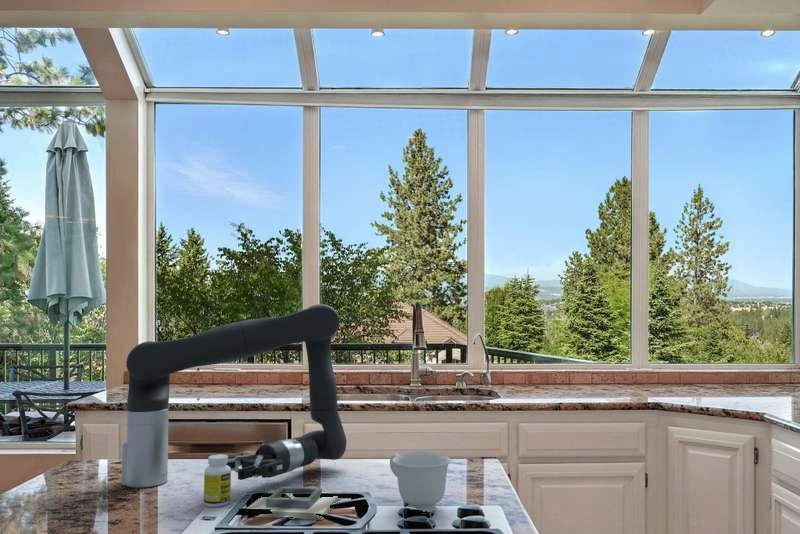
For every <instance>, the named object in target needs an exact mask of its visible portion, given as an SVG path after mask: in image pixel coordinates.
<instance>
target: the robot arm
mask: <svg viewBox="0 0 800 534" xmlns="http://www.w3.org/2000/svg"><path fill="white" fill-rule="evenodd" d="M340 320H341V319H340V316H339V313H338V312H337V311H336V310H335V308H333V307H332V306H330V305H328V304H323V303H318V304H317V303H316V304H315V305H310V306H309V307H307V308H304V309H302V310H299V311H297V312H296V311H295V312H293V313H290V314H285V315H280V316H271V317H270V316H269V317H261V318H259V317H258V318H253V319H252V318H251V319H245V320H240V321H239V320H238V321H237V322H231V323H226V324H223V325H219V326H216V327H213V328H210V329H207V330H204V331H201V332H199V333H195V334H194V335H190V336H186V337H182V338H179V339H171V340H164V341H154V340H151V341H150V340H149V341H148V340H147V341H144V342H140V343H139V344H137V345H136V346H135V347H133V348H132V349H131V350H130V351H129V353H128V355H127V357H126V362H125V363H126V369H127V372H128V375H129V376H128V390H127V391H128V392H127V400H126V401H127V402H126V441H125V442H123V444H122V448H121V449H122V452H121V455H122V457H121V486H127V487H129V488H150V487H156V486H160V485H162V484H165V483H166V482H168V475H169V471H168V467H169V466H168V465H169V464H168V463H169V459H168V458H169V406H170V405H169V404H170V403H169V402H170V381H171V380H170V378H171V377H170V376H171V374H175V373H178V372H181V371H184V370H188V369H192V368H197V367H198V368H199V367H203V366H205V367H206V366H211V365H216V364H217V365H218V364H219V365H220V364H223V363H229V362H235V361H238V360H242V359H247V358H252V357H254V356H259V355H261V354H265V353H268V352H270V351H273V350H276V349H279V348H281V347H284V346H288V345H291V344H297V343H303V342H304V344H305V349H306V355H307V364H308V387H309V393H308V394H309V408H310V411H309V412H310V417H311V420H312V421H314V422H316V423H318V424H320V425H321V427H322V429H321V430H311V431H309V432H307V433H305V434H303V435H301V436H298V437H293V438H288V439H282V440H281V439H279V440H275V441H273V442H268V443H264V444H262V445H260V446H259V447H258V448H257V450H256V452H255V453H248V454H246V455H244V453H243V452H242V453H237V454H233V455H227V456H228V463H227V465H228V466H229V467H230V468H231V472H232V471H234V472H235V473H237V479H238V480H240V481H243V480H247V479H249V478H253V477H254V478H258V477H259V478H260V477H261V478H263V479H268V478H273V477H274V478H275V477H276V476H279V475H283V474H286V473H291V472H293V471H294V470H297V469H299V468H302V467H305V466H309V465H311V464H312V463H313V462H315V461H316V459H317V460H318V459H322V460H332V461H335V460H339V459H341V458H342V457H343V456H344V454H345V452H346V450H347V437H346V433H345V430H344V427H343V424H342V421H341V420H342V419H341V417H340V415H339V407H338V406H339V405H338V392H337V383H336V378H335V372H334V369H333V363H332V353H331V352H332V351H331V350H332V349H331V347H332V346H331V343H332V336H334V335H335V334H336V333H337V331H338V329H339V327H340V322H341V321H340ZM240 467H241V468H240Z"/></svg>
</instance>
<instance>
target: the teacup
mask: <svg viewBox="0 0 800 534" xmlns="http://www.w3.org/2000/svg"><path fill="white" fill-rule="evenodd" d="M451 462H452V459H451V458H450V457H449V456H448V455H445V454H442V453H436V452H426V451H425V452H424V451H422V452H421V451H420V452H419V451H418V452H406V453H402V454H399V453H394V454H392V455H391V457H390V458H389V466H390V467H389V468H390V470H391V472H392V474H393V475H394V476H395V477H396V478H397V485H398V491H399V496H400V497H401V500H403V501H404V502H405V503H406V504H408V507H414V508H416V509H419V510H422V511H423V512H425V511H430V513H432V512H435V511H436V510H437V505H436V504H438V503H439V502H440V501H442V500H443V497H444V495H445V492H446V485H447V483H446V482H447V472H448V468H449V464H450V463H451ZM408 507H407V508H408Z"/></svg>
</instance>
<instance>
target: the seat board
mask: <svg viewBox="0 0 800 534" xmlns="http://www.w3.org/2000/svg"><path fill="white" fill-rule="evenodd" d="M266 493H273V494H272V495H271V496H269V497H262V496H261V498H260V497H259V498H258V499H256V500H255V501H254V502H252V503H251V504H250V505H249V506H247V507H246V508H264V509H271V510H270V511H271V512H272V513H273V514H261V515H258V516H255V517H256V518H272V519H273V518H279V519H281V518H280V517H284V516H291V517H293V518H292V519H295V518H302V520H316V521H317V520H318V521H319V520H320V521H322V520H324V519H325V518H324V517H322V516H319V515H316V514H321V515H322V514H327V515H328V514H329V513H330V512H331V511H332V510H333V508H330V505H331V504H333V503H336V502H338V501H340V500H341V499H339V498H338V496H333V497H321V498H320V495H321V493H337V491H335V492H333V491H330V492H329V491H323V488H321V487H300V486H299V487H298V486H296V487H295V486H281V487H279V488H278V489H270V490H268V491H267V492H266ZM283 493H289V494H290V493H300V494H311V495H310V496H309V497H293V498H294V499H289V498H282V497H281V495H282V494H283ZM338 503H339V502H338Z"/></svg>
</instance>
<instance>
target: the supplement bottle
mask: <svg viewBox="0 0 800 534" xmlns="http://www.w3.org/2000/svg"><path fill="white" fill-rule="evenodd" d="M228 456H229V455H228V454H221V453H219V454H212V455H209V456H208V459H207V464H208V466H207V467H206V468H205V469H204V472H203V473H204V474H203V475H204V477H203V504H204V506H205V507H210V508H218V507H225V506H226V505H229V504H230V503H231V490H232V488H231V486H232V484H231V483H232V479H231V478H232V471H231V468H230V467H229V466H228V465H227V463H228Z"/></svg>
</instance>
